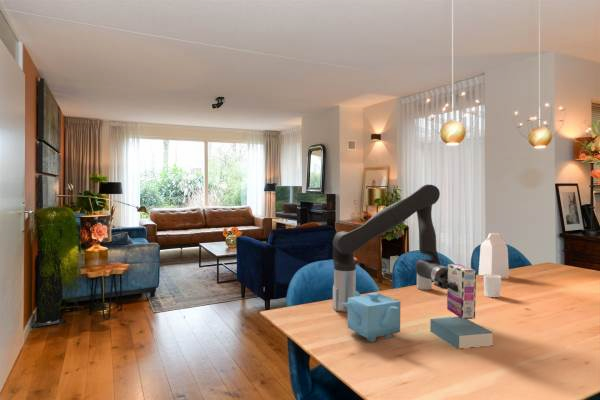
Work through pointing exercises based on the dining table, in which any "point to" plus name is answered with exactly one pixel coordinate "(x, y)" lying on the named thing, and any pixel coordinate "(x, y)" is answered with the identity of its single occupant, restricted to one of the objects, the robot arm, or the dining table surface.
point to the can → (424, 283)
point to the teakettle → (373, 315)
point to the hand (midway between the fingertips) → (464, 288)
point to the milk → (494, 256)
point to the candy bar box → (462, 291)
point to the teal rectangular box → (461, 332)
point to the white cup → (492, 285)
